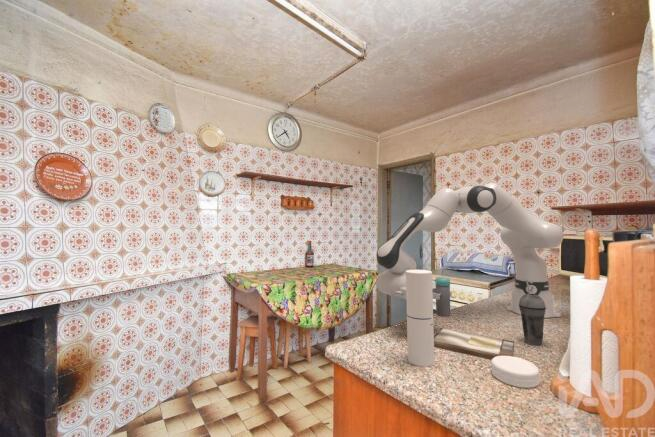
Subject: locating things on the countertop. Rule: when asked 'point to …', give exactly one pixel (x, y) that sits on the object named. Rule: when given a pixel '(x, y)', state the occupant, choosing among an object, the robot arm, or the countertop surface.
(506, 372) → the coaster
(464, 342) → the clipboard
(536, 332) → the beverage cup
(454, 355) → the countertop surface
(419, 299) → the cylindrical container
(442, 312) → the bottle
